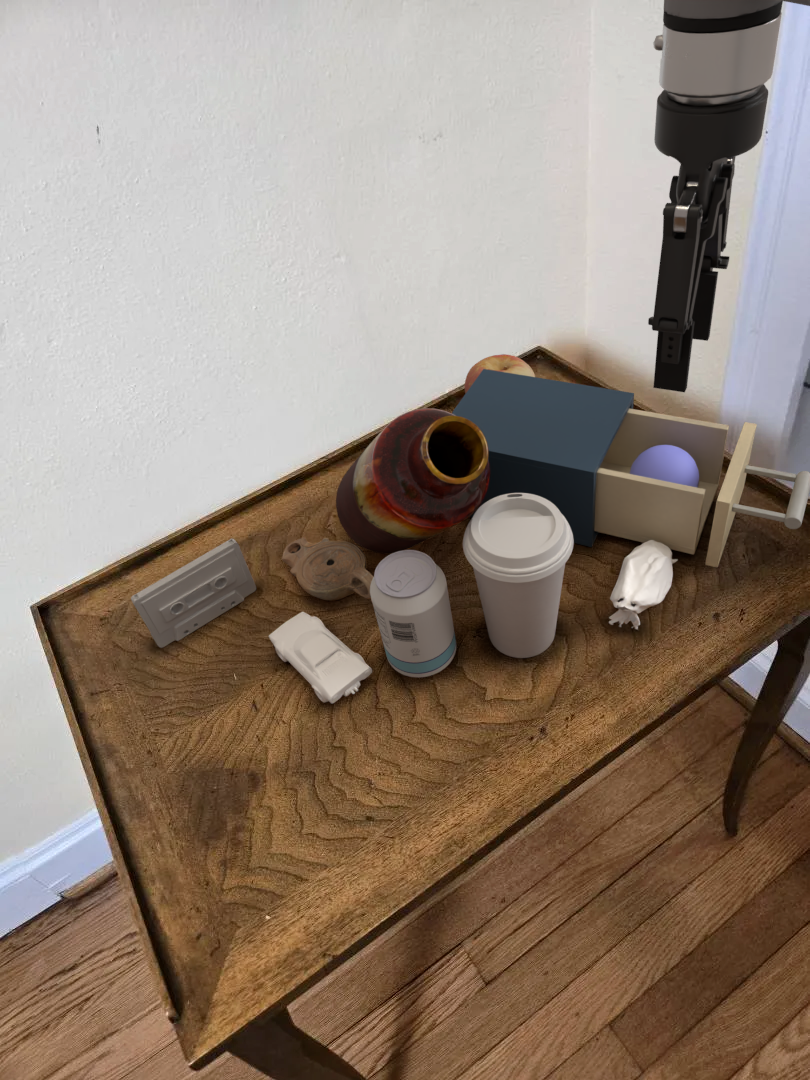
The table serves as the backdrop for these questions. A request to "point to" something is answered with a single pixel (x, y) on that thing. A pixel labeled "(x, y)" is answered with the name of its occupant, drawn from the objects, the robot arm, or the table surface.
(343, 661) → the toy car
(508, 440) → the cabinet
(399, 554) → the beverage can
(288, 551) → the oil lamp
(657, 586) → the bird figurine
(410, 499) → the vase
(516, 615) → the coffee cup
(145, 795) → the table surface
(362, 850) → the table surface
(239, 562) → the cassette
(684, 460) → the sphere
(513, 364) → the apple
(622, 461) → the drawer
